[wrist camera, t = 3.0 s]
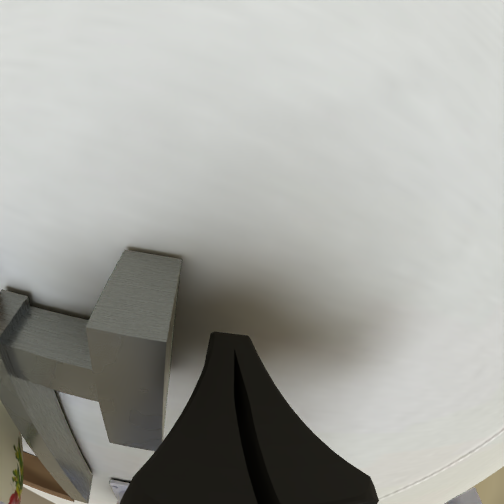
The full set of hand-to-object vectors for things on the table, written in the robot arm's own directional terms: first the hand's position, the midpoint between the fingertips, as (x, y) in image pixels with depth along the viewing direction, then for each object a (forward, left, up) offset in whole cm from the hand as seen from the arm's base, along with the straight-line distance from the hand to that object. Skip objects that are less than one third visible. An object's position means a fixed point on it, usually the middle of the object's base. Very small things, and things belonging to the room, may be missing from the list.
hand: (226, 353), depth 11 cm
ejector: (-8, +6, -1) cm, 10 cm away
